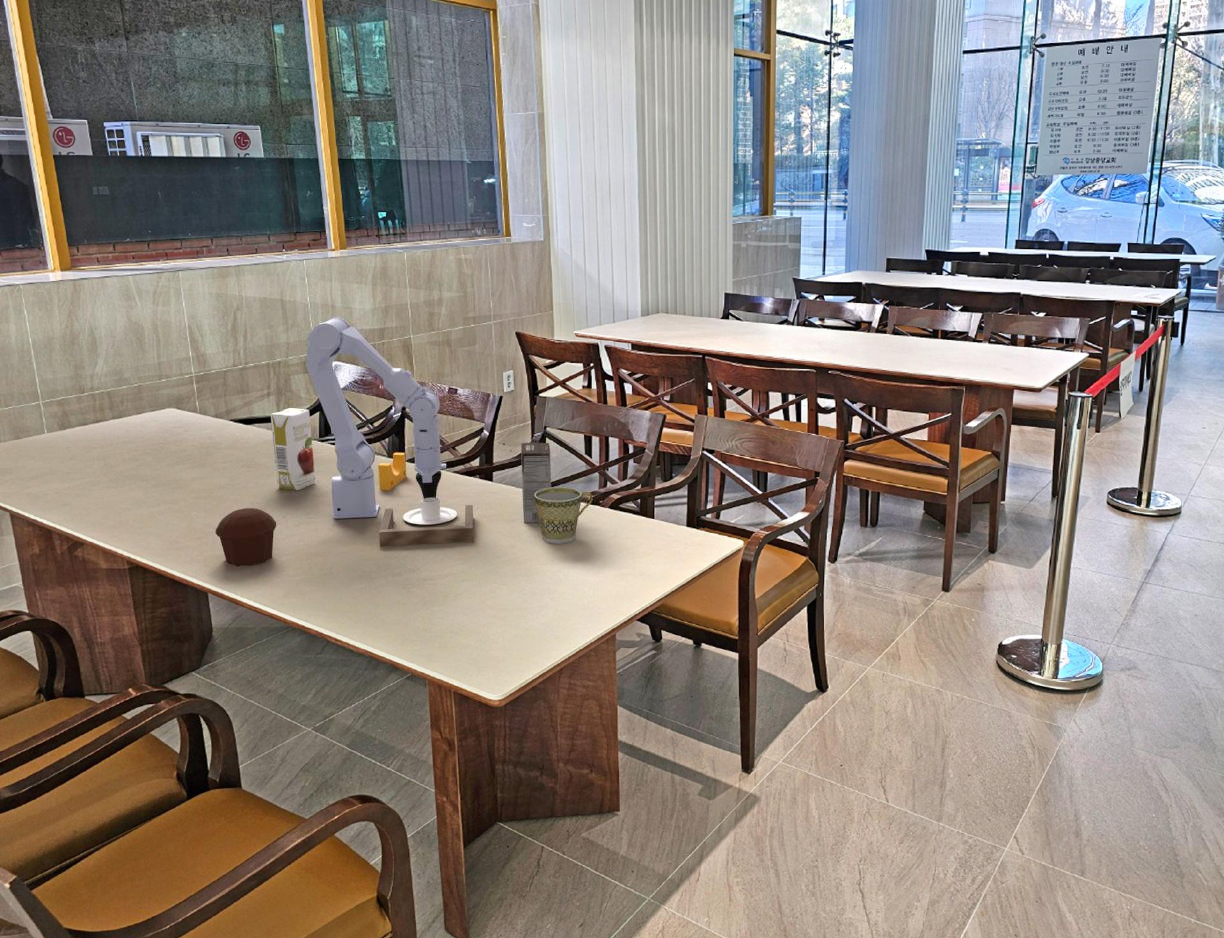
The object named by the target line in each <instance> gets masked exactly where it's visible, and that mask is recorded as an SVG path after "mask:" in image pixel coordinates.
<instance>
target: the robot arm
mask: <svg viewBox="0 0 1224 938" xmlns="http://www.w3.org/2000/svg"><path fill="white" fill-rule="evenodd" d="M338 354H340V355H350V356H355V358H357V359H358V360H360V362H362V363H363V364H365V366H367V367H368V368H369V369H370V370H372V371H373V372H374V373H376V374H377V375H378V376H379V377H380V378H382V380H383V388H384V389H385V390H386V391H388V392H389V394H391V395H392V396H393V397H394V398H395V399H396V400H398V401H399V402H400V404H402V405H403V406H404V407H406V408H408V410H407V411H408V414H409V417H410V418H411V419H412V424H413V425H412V426H413V427H412V433H413V434H412V435H413V436H412V437H413V451H414V466H413V467H414V468H413V469H414V471H416V474H415V481H416V483H417V484H418V485H419V488H420V490H421V494H422V497H423V499H425V498H437V491H438V486H439V483H440V481H441V479H442V471H441V470H444V469H447V463H441V459H442V458H441V444H440V443H441V441H440V426H439V416H438V414H437V413H438V412H439V410H440V406H441V401H440V399H439V397H438V396H437V395H436V393H435V392H433V391H432V390H428V388H427V387H426V386H422V385H421V384H419V382H417V380H416V379H415V378H414V377H412V372H411V371H409V370H408V369H407V370H406V371H405V370H404V368H399V367H398V368H397V367H393V366H392V365H391V364H390V363H389V362H388V360H386V359H385V358H384V357H383V356H382V355H381V354H380V353H379V352H378V351H377V350H376V349H375V348H374V347H373V346H372V345H371V344H370V343H369V342H368V341H367V340H366V339H365V337H363V336H362V334H361V333H360V332H359V331H358V330H357V329H356V328H355V327H354V326H350V324H349V322H347V321H346V320H345V319H343V318H342V317H332V318H330V319H328V320H327V321H324V322H321V323H318V324H317V325H315V326H314V327H313V328H312V330H311V332H310V334H309V335H308V337H307V350H306V356H305V357H306V358H305V367H306V369H307V372H308V374H309V377H310V380H311V383H312V385H313V387H314V389H315V392H316V394H317V397H318V399H319V402H320V404H321V407H322V409H323V413H324V414H325V417H326V420H327V422H328V424H329V427H330V429H331V432H332V435H333V437H334V439H335V443H334V444H335V445H334V452H335V454H336V460H337V461H336V467H337V468H336V469H337V471H338V472H339V473H340V475H336V476H332V478H331V499H332V509H333V510H332V511H333V512H332V513H333V519H354V518H357V519H358V518H375V517H377V516H378V513H379V509H380V504H378V503H377V502H376V488H375V476H374V475H375V473H374V470H373V469H372V465H373V464H374V462H375V461H376V452H375V450H374V448H373V447H372V446H371V445H370V444H369V443H368V442H367V441H366V438H365V435H364V434H363V433H361V432H360V431H359V430H358V427H357V425H356V422H355V420H354V417H353V415H352V412H351V410H350V407H349V405H348V403H347V400H346V397H345V394H344V392H343V389H342V387H341V385H340V382H339V380H338V376H337V375H336V372H335V369H334V367H333V363H334V361H335V359H336V358H337V356H338ZM376 503H377V504H376Z"/></svg>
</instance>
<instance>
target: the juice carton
mask: <svg viewBox="0 0 1224 938" xmlns="http://www.w3.org/2000/svg"><path fill="white" fill-rule="evenodd" d="M270 421H271V432H272V442H273V453H274V461H275V473H276V480H277V481H276V482H277V487H278V489H282V490H290V489H292V491H300V490H302V489H304V488H307V487H310V486H312V485H314V484H316V475H315V473H316V472H315V461H314V449H313V440H312V437H313V436H312V427H311V426H312V425H311V418H310V409H305V408H304V409H303V408H292V407H288V408H285V409H283V410H282V411H277V412H273V413H272V412H271V413H270ZM311 484H312V485H311ZM306 486H307V487H306Z"/></svg>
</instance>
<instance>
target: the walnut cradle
mask: <svg viewBox="0 0 1224 938" xmlns="http://www.w3.org/2000/svg"><path fill="white" fill-rule="evenodd" d="M464 508H465V510H464V511H465V512H464V513H465V514H464V525H452V526H431V527H428V526H427V527H410V528H407V527H406V528H393V525H394V520H395V519H394V508H385V509H384V512H383V515H382V516H383V517H382V520H381V523H380V527H379V532H378V535H379V536H378V538H379V546H380V547H382V546H383V547H386V546H405V545H406V546H407V545H422V544H423V545H424V544H425V545H427V544H443V543H444V544H446V543H467V542H469V543H470V542H474V507H473V504H465V507H464Z"/></svg>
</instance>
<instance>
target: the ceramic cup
mask: <svg viewBox="0 0 1224 938" xmlns="http://www.w3.org/2000/svg"><path fill="white" fill-rule="evenodd" d="M586 496H589V497H590V499H589V501H588V502H587V504H585V505H584V506H583V507H582V508H581V505H582V499H584V498H585V497H586ZM534 499H535V505H536V510H537V513H538V518H539V522H538V524H539V528H540V532H541V537H542V540H543V541H544V540H545V541H544V542H545V543H547V544H555V545H562V544H568V543H572V541H573V540H574V539H575V538H576V533H577V526H578V521H579V516H580V515H582V514H583V512H584V511H585V510H586V509H587V508H588V507H589V506H590V505H591V504H592V502H593V500H594V499H593V495H592V493H590V492H589V491H583V492H581V490H579V489H576V488H573V487H566V486H553V487H552V486H551V488H545V489H541V490H538V491H537V492H535V494H534ZM580 508H581V509H580ZM567 542H568V543H567Z"/></svg>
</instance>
